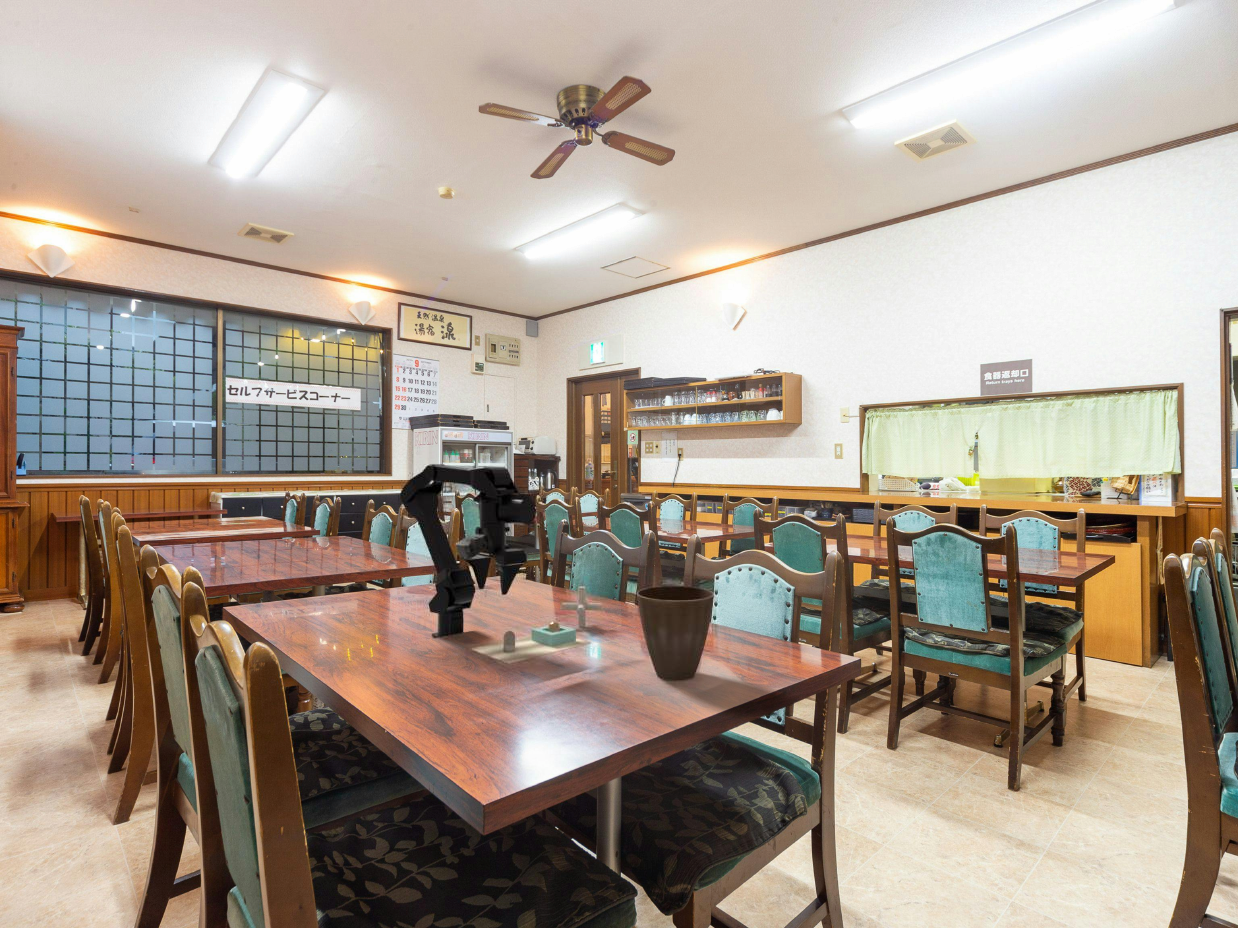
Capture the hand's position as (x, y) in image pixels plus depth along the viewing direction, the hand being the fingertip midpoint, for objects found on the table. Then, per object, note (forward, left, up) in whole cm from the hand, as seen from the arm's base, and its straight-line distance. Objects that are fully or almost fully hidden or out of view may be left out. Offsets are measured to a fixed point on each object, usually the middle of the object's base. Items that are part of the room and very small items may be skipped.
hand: (492, 591), depth 145 cm
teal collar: (+11, +9, -10) cm, 18 cm away
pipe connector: (+1, +26, -12) cm, 29 cm away
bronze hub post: (+11, +9, -10) cm, 18 cm away
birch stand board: (+11, +3, -12) cm, 17 cm away
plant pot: (+42, +14, -12) cm, 46 cm away
